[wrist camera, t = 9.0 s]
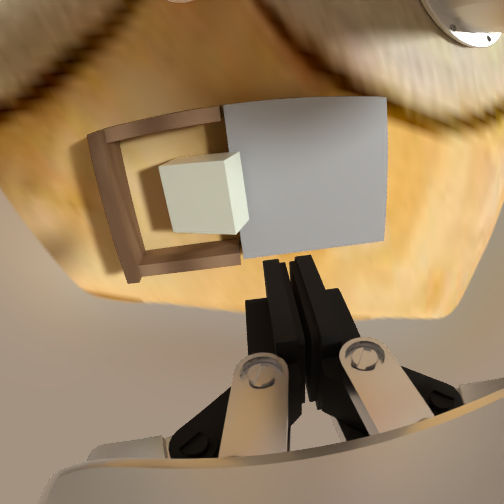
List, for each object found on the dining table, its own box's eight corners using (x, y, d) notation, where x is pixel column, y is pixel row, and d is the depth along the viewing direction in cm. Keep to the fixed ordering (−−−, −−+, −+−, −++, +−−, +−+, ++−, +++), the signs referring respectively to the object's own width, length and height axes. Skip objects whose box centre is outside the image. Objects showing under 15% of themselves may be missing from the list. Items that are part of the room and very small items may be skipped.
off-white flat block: (239, 151, 25) (223, 160, 23) (249, 219, 28) (236, 234, 25) (177, 157, 27) (158, 166, 25) (190, 218, 30) (173, 232, 28)
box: (220, 105, 25) (218, 106, 22) (239, 249, 32) (241, 270, 28) (104, 128, 25) (86, 134, 22) (137, 262, 32) (127, 283, 28)
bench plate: (376, 96, 25) (386, 97, 23) (376, 232, 32) (383, 240, 30) (223, 104, 25) (222, 105, 23) (242, 248, 32) (243, 258, 30)
